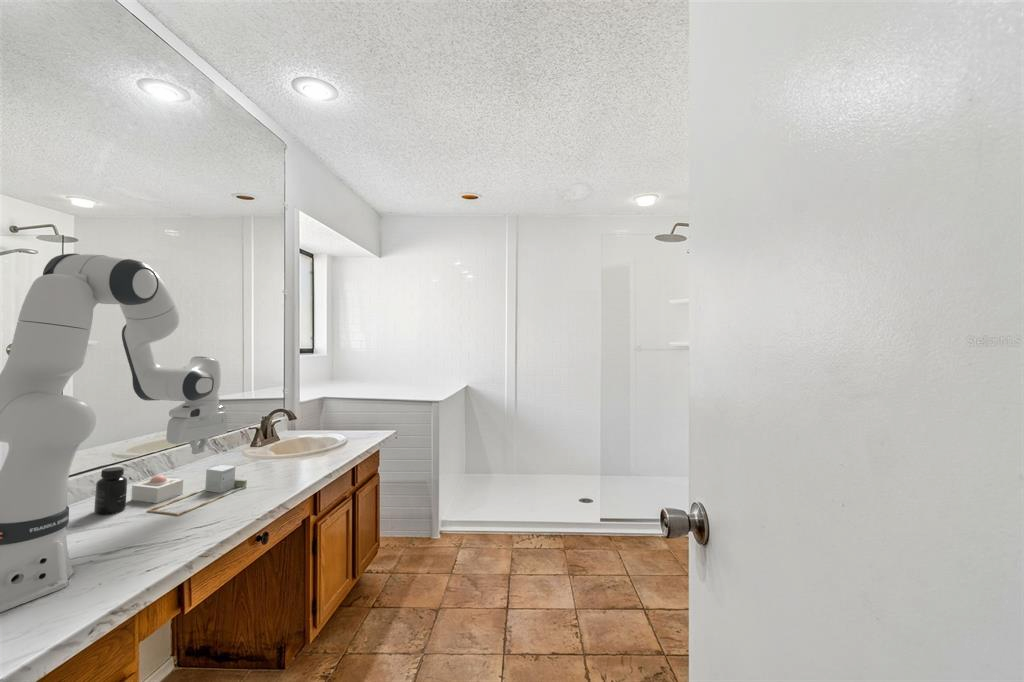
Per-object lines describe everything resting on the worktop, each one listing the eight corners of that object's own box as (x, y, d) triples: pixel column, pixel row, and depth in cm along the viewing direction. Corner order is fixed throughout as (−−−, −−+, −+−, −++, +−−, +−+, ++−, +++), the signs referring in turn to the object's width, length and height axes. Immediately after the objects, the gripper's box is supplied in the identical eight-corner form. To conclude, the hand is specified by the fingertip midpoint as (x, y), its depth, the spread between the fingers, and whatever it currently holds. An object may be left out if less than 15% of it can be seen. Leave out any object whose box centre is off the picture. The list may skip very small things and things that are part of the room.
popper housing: (157, 503, 139) (157, 488, 139) (131, 500, 140) (132, 485, 140) (182, 493, 148) (183, 479, 148) (158, 490, 149) (158, 477, 149)
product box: (220, 493, 150) (221, 471, 150) (204, 491, 151) (205, 469, 151) (234, 487, 156) (236, 466, 156) (219, 485, 157) (220, 464, 157)
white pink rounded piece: (157, 499, 141) (158, 478, 141) (141, 497, 142) (142, 477, 142) (173, 493, 146) (174, 473, 146) (157, 491, 147) (159, 472, 147)
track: (178, 515, 131) (178, 507, 131) (146, 512, 132) (146, 503, 132) (246, 487, 157) (246, 480, 157) (219, 484, 159) (219, 477, 159)
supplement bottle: (127, 511, 132) (129, 469, 132) (95, 517, 127) (98, 473, 127) (123, 504, 136) (126, 464, 136) (92, 510, 131) (95, 468, 131)
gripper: (218, 404, 154) (214, 445, 154) (163, 411, 134) (160, 459, 133) (235, 405, 153) (231, 447, 153) (183, 413, 133) (179, 461, 132)
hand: (197, 453), depth 143 cm, fingers closed
